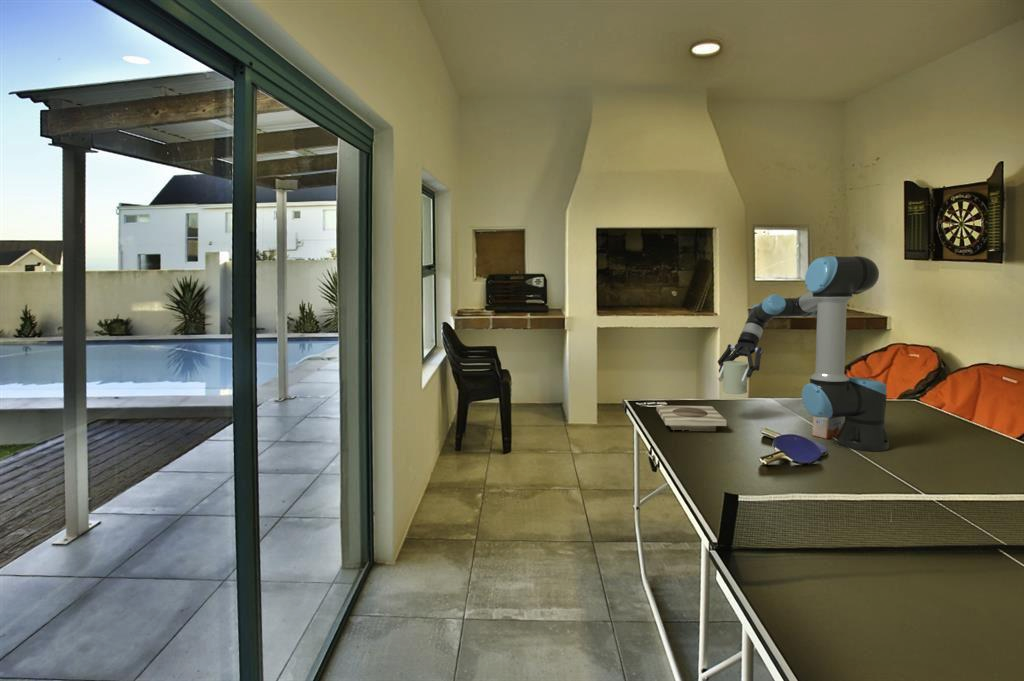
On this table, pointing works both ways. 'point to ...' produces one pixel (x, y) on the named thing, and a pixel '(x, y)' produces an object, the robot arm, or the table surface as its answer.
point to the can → (734, 377)
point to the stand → (691, 417)
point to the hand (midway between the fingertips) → (731, 381)
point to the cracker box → (827, 426)
